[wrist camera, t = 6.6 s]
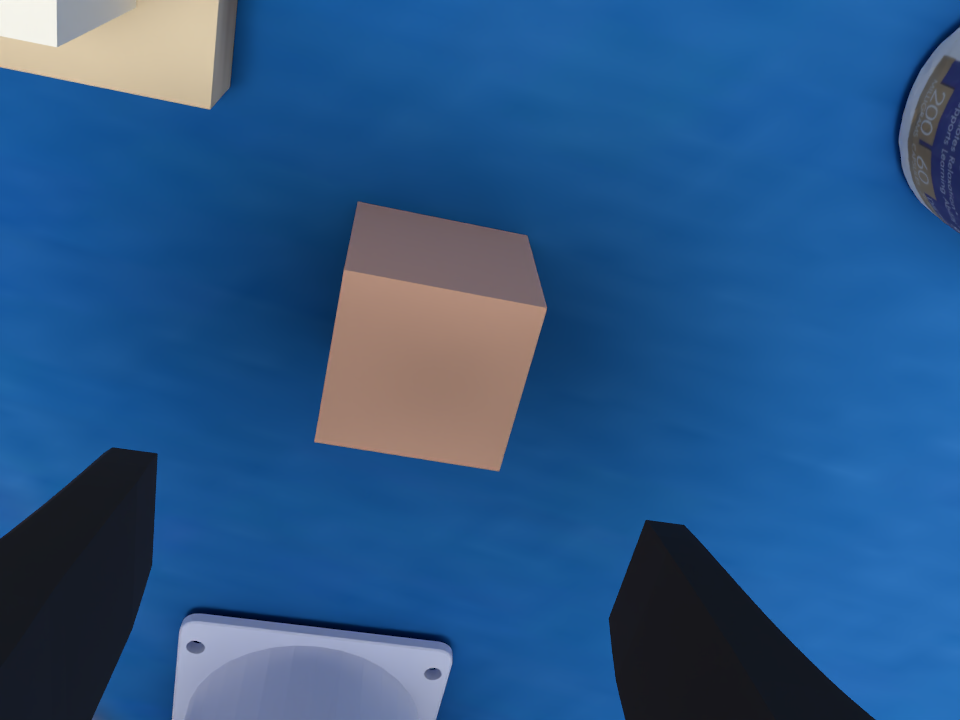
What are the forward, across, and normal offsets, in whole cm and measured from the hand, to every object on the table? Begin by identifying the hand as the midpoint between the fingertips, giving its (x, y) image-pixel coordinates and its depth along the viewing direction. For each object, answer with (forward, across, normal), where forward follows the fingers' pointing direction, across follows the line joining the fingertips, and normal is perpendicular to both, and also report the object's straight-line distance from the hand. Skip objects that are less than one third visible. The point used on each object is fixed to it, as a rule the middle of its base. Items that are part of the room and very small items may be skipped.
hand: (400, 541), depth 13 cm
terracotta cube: (+10, 0, 0) cm, 10 cm away
